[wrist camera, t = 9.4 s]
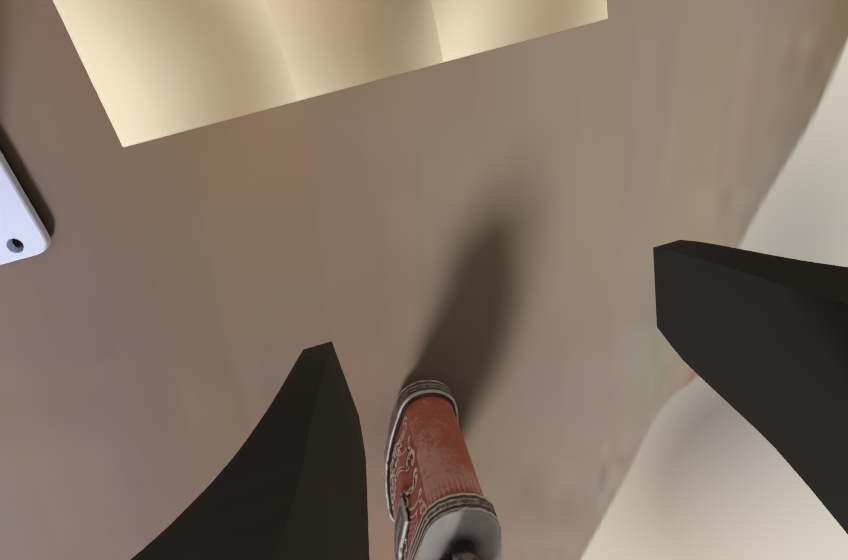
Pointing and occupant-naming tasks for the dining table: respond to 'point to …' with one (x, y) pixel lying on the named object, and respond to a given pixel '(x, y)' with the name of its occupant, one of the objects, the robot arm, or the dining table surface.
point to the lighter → (435, 482)
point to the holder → (279, 49)
